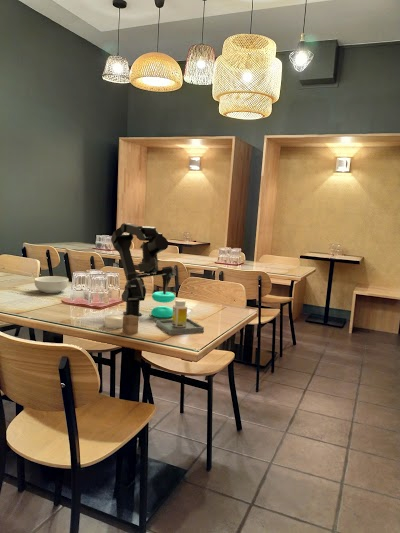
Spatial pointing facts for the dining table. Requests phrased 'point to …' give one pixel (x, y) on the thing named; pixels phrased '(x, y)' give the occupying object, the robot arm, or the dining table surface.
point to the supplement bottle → (179, 314)
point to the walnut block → (130, 324)
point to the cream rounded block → (113, 321)
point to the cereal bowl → (51, 283)
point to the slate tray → (170, 329)
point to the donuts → (162, 310)
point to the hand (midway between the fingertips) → (153, 295)
